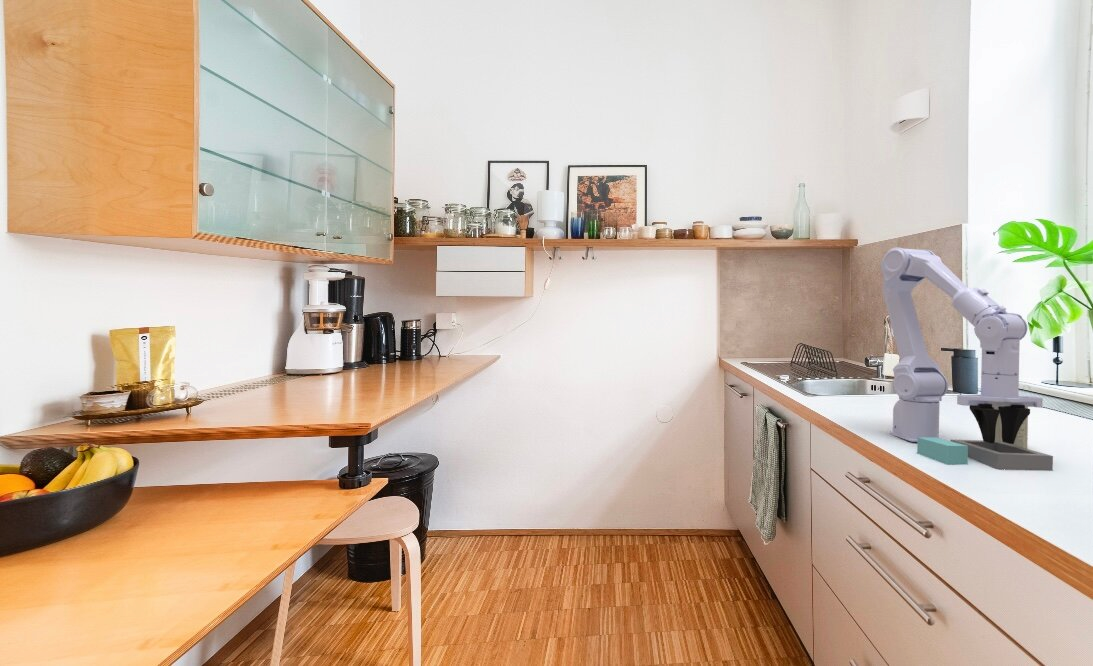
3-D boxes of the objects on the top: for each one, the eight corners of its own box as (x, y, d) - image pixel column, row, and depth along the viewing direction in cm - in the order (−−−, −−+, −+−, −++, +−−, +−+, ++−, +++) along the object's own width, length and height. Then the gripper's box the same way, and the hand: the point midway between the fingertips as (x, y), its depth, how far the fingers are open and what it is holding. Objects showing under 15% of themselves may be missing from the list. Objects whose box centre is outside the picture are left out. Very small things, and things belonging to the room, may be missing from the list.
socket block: (950, 453, 114) (950, 439, 114) (998, 455, 113) (998, 441, 113) (997, 470, 101) (998, 454, 101) (1052, 472, 100) (1052, 455, 100)
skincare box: (1010, 450, 118) (1011, 395, 118) (1028, 455, 113) (1029, 397, 113) (981, 450, 118) (982, 394, 118) (999, 455, 113) (1000, 397, 113)
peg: (917, 456, 112) (917, 437, 112) (935, 456, 112) (936, 437, 112) (947, 466, 104) (948, 445, 104) (967, 466, 104) (967, 445, 104)
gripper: (974, 375, 103) (973, 445, 104) (1056, 376, 102) (1055, 448, 102) (950, 372, 110) (949, 438, 111) (1026, 373, 109) (1025, 440, 109)
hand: (998, 442), depth 107 cm, fingers open, 3 cm apart
